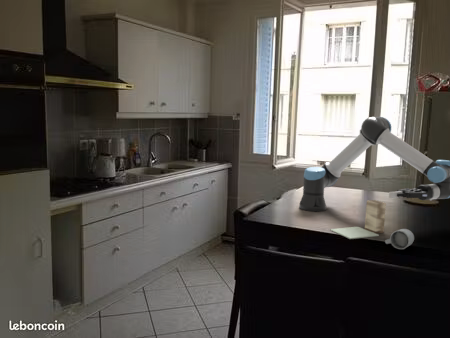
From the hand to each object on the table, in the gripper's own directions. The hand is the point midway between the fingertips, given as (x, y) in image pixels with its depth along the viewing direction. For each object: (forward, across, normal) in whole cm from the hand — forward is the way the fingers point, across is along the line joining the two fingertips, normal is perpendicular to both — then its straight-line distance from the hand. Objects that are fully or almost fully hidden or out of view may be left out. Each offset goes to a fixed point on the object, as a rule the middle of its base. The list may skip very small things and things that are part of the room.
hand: (390, 194), depth 189 cm
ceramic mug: (+14, -20, -17) cm, 30 cm away
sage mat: (+19, +1, -17) cm, 26 cm away
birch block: (+8, +1, -17) cm, 19 cm away
